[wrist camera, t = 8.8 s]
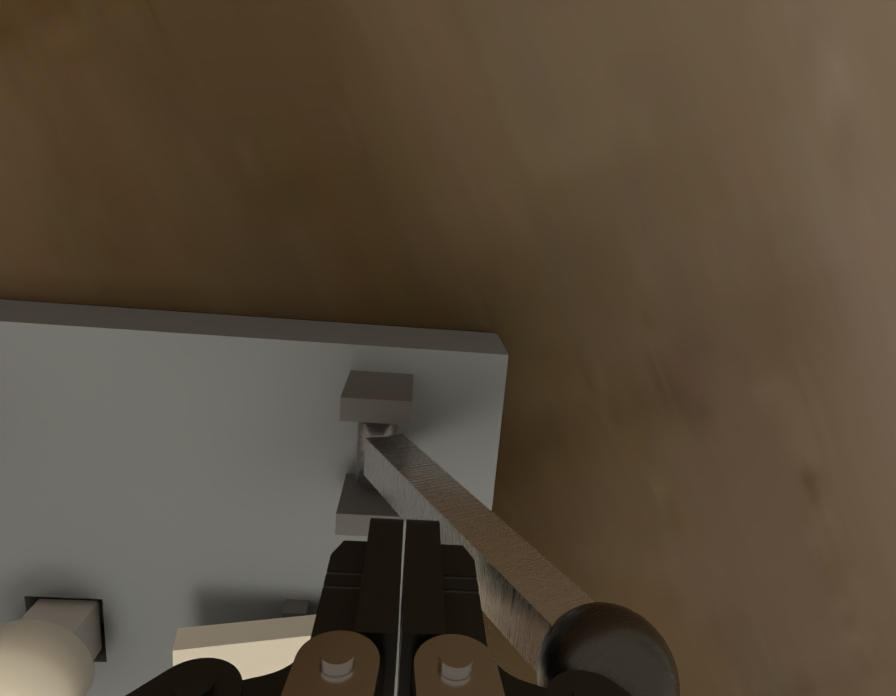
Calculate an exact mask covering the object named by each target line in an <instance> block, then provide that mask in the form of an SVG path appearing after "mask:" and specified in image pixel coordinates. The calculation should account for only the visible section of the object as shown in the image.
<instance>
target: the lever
mask: <svg viewBox="0 0 896 696" xmlns="http://www.w3.org/2000/svg"><path fill="white" fill-rule="evenodd" d="M356 482H357V483H358V484H359V485H361V486H364V487H367V488H376V489H377V491H378V492H379V493H380V494H381V495H382V496H383V497H384V499H385V500H386V501H387V502H388V503H389V504H390V505H391V507H392V508H393V509H394V510H395V511H396V512H397V513H398V515H399V516H400V517H401V518H402V519H404V521H405V523H406V520H407V519H412V520H435V521H439V522H440V538H441V544H445V545H463V546H464V547H465V549H466V550H467V551H468V553H469V554H470V555H471V556H472V558H473V559H474V560H475V567H476V574H477V581H478V588H479V595H480V602H481V609H482V611H483V612H484V613H485V614H486V615H487V617H488V618H489V619H490V620H491V621H492V622H493V623H494V625H495V626H496V627H497V628H498V629H499V630H500V631H501V633H502V634H503V635H504V636H505V637H506V638H507V639H508V641H509V642H510V643H511V644H512V645H513V646H514V647H515V649H516V650H517V651H518V652H519V653H520V654H521V656H522V657H523V658H524V659H525V660H526V661H527V662H528V664H529V665H530V666H531V667H532V668H533V669H534V670H535V672H536V673H537V685H538V686H541V687H545V688H547V687H548V684H549V683H550V681H551V680H552V679H553V678H554V677H555V676H557V675H559V674H561V673H563V672H566V671H571V670H584V671H590V672H594V673H597V674H600V675H603V676H605V677H607V678H609V679H610V680H612V681H613V682H615V683H616V684H618V685H619V686H620V687H622V688H623V689H624V690H626V691H627V692H628V693H630V694H631V695H632V696H680V685H679V676H678V671H677V667H676V664H675V660H674V658H673V656H672V653H671V651H670V649H669V647H668V645H667V643H666V642H665V640H664V639H663V637H662V636H661V635H660V633H659V632H658V631H657V630H656V629H655V627H654V626H652V625H651V624H650V623H649V622H648V621H647V620H646V619H645V618H643V617H642V616H640V615H639V614H638V613H636V612H634V611H632V610H630V609H628V608H626V607H623V606H620V605H617V604H612V603H607V602H595V601H594V600H593V599H591V598H590V597H589V596H588V595H587V594H586V593H585V592H583V591H582V590H581V589H580V588H579V587H578V586H577V585H575V584H574V583H573V582H572V581H571V580H570V579H569V578H567V577H566V576H565V575H564V574H563V573H562V572H561V571H559V570H558V569H557V568H556V567H555V566H554V565H553V564H551V563H550V562H549V561H548V560H547V559H546V558H544V557H543V556H542V555H541V554H540V553H539V552H538V551H536V550H535V549H534V548H533V547H532V546H531V545H530V544H528V543H527V542H526V541H525V540H524V539H523V538H522V537H520V536H519V535H518V534H517V533H516V532H515V531H514V530H512V529H511V528H510V527H509V526H508V525H507V524H506V523H504V522H503V521H502V520H501V519H500V518H499V517H498V516H496V515H495V514H494V513H493V512H492V511H491V510H490V509H488V508H487V507H486V506H485V505H484V504H483V503H481V502H480V501H479V500H478V499H477V498H476V497H475V496H473V495H472V494H471V493H470V492H469V491H468V490H467V489H465V488H464V487H463V486H462V485H461V484H460V483H459V482H457V481H456V480H455V479H454V478H453V477H452V476H451V475H449V474H448V473H447V472H446V471H445V470H444V469H443V468H441V467H440V466H439V465H438V464H437V463H436V462H435V461H433V460H432V459H431V458H430V457H429V456H428V455H427V454H425V453H424V452H423V451H422V450H421V449H420V448H418V447H417V446H416V445H415V444H414V443H413V442H412V441H410V440H409V439H408V438H407V437H406V436H405V435H404V434H402V433H398V434H397V424H384V423H367V422H358V439H357V461H356Z"/></svg>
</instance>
